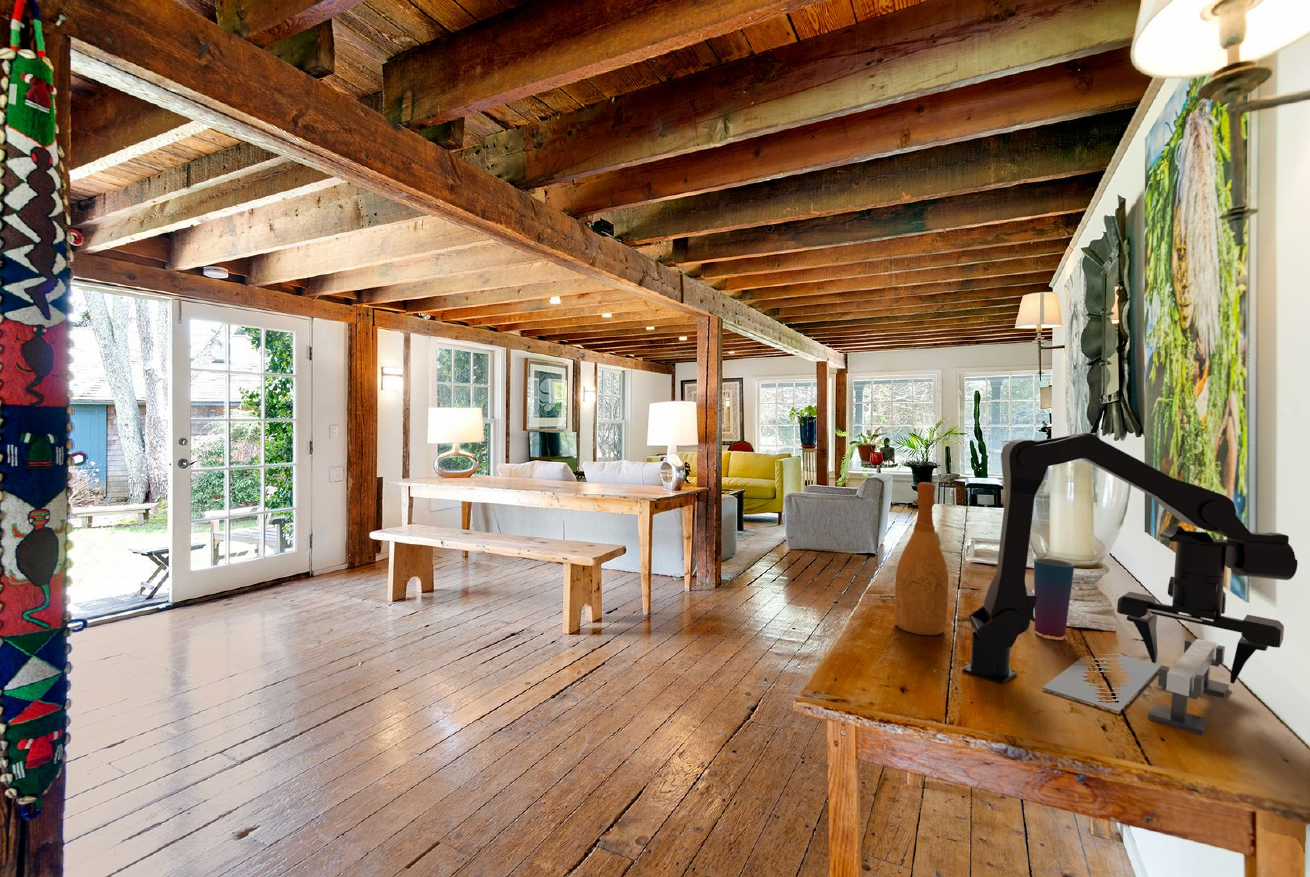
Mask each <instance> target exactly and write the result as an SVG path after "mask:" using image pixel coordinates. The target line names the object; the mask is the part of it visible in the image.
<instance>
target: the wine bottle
mask: <svg viewBox="0 0 1310 877" xmlns="http://www.w3.org/2000/svg"><path fill="white" fill-rule="evenodd" d="M916 489H917V499H916V504H917V505H918V506H917V507H918V508H917V516H916V521H915V523H914V527H913V532H912V534H911V536H910V538H909V540H908V541H907V543H906V545H905V547H904V549H903V550H902V552H901V554H900V558H899V560H898V564H897V566H896V567H897V568H896V573H895V586H894V622H895V625H896V626H897V627H898V628H900V629H901V630H903V631H906V632H908V633H912V634H915V635H921V636H937V635H941V634H942V633H943V632H944V631H945V629H946V621H947V614H948V613H947V611H948V600H949V599H948V597H949V572H948V567H947V564H946V560H945V556H944V553H943V551H942V549H941V546H942V544H941V538H940V534H939V533H940V532H938V531H935V530H936V529H935V526H934V520H933V506H935V503H936V502H935V492H936V485H935V484H934V483H933V482H929V481H928V482H927V481H926V482H925V481H921V482H919V483H918V484H917V487H916Z"/></svg>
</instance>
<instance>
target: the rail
mask: <svg viewBox="0 0 1310 877" xmlns="http://www.w3.org/2000/svg"><path fill="white" fill-rule="evenodd" d="M1217 646H1218V643H1217V642H1214V641H1213V642H1212V641H1208V640H1204V639H1199V638H1196V639H1195V640H1193V644H1192V645H1191V646H1190V647H1189V648H1188V650H1187V651H1186V652H1185V653H1184V652H1183V654H1182V656H1180V658H1178V660H1177V661H1176V662H1175V663H1174V664H1173V666H1172V667H1170V668H1169V672H1168V673H1167V685H1166V690H1168V691H1171V692H1175V693H1178V694H1182V695H1185V696H1190V694H1191V693H1192V691H1193V688H1194V677H1195V676H1196V675H1201V676H1204V674H1205V673H1206V671H1207V670H1208V669H1209V667H1210V668H1211V666H1212V665H1211V664H1212V663H1213V661H1214V660H1215V659H1216V648H1217ZM1171 692H1170V693H1171Z"/></svg>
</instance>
